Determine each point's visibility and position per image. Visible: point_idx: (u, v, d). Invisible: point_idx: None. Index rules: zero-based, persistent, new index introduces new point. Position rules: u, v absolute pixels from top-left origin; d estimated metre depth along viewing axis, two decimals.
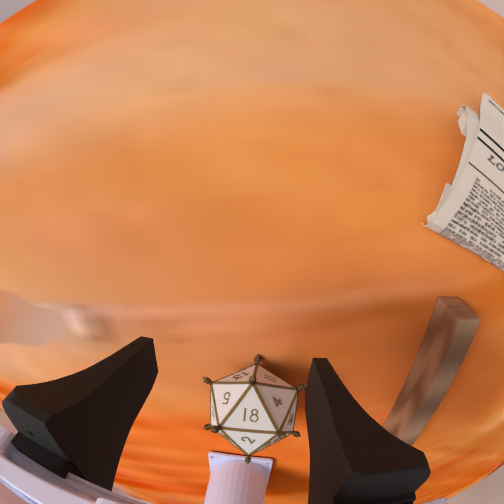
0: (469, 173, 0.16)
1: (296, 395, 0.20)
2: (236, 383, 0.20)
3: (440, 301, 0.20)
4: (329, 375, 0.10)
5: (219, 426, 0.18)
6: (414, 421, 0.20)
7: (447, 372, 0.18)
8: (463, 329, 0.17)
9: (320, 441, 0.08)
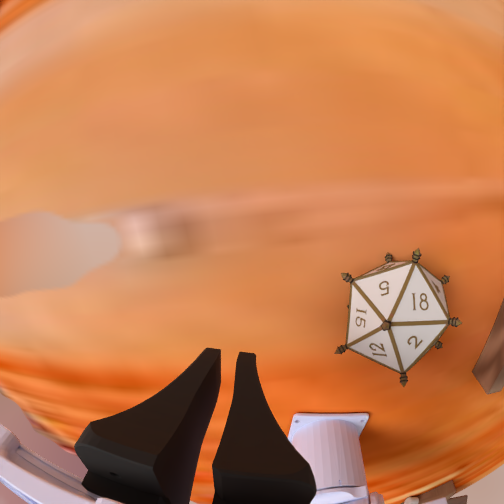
0: None
1: (442, 288, 0.16)
2: (392, 268, 0.16)
3: None
4: (246, 370, 0.10)
5: (389, 322, 0.14)
6: None
7: None
8: None
9: None
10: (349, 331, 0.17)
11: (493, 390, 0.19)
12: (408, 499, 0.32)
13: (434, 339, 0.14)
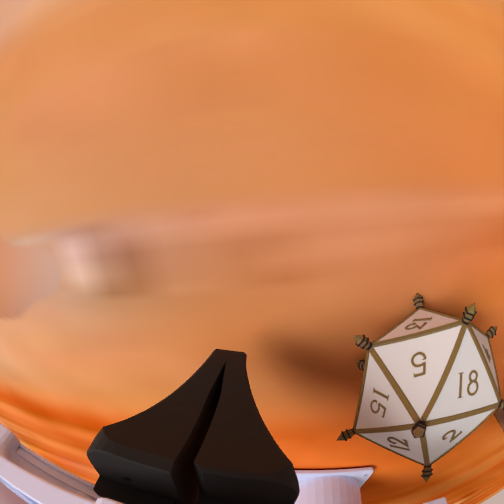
0: None
1: (488, 345, 0.10)
2: (431, 332, 0.09)
3: None
4: (235, 368, 0.10)
5: (423, 423, 0.07)
6: None
7: None
8: None
9: None
10: (360, 414, 0.11)
11: None
12: None
13: (476, 427, 0.07)
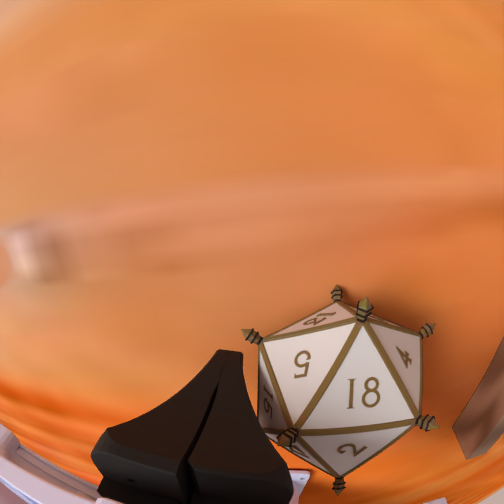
0: None
1: None
2: (321, 328, 0.10)
3: None
4: (232, 368, 0.10)
5: (295, 431, 0.07)
6: None
7: None
8: None
9: None
10: (259, 412, 0.11)
11: (474, 454, 0.13)
12: None
13: (389, 443, 0.07)
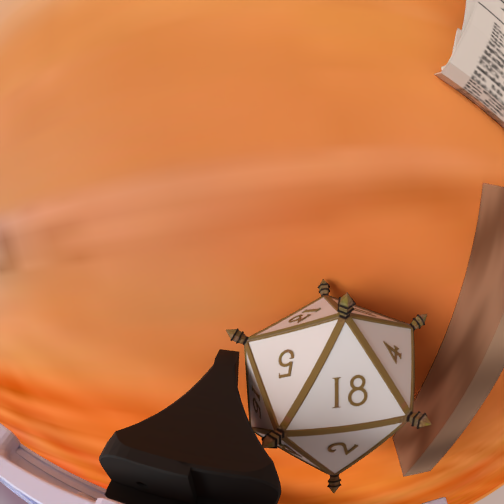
0: (483, 13, 0.06)
1: (413, 338, 0.10)
2: (304, 326, 0.09)
3: (489, 187, 0.11)
4: (224, 367, 0.10)
5: (280, 432, 0.07)
6: (462, 406, 0.11)
7: None
8: None
9: None
10: (250, 411, 0.11)
11: (413, 471, 0.13)
12: None
13: (381, 441, 0.07)
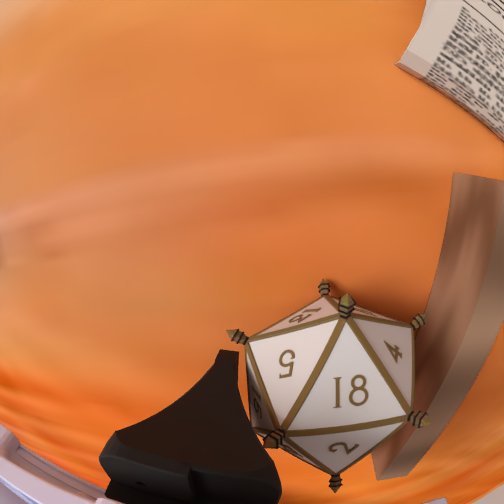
0: None
1: (413, 337, 0.10)
2: (304, 326, 0.09)
3: (459, 176, 0.11)
4: (224, 367, 0.10)
5: (281, 432, 0.07)
6: (433, 411, 0.11)
7: (493, 307, 0.09)
8: None
9: None
10: (251, 412, 0.11)
11: (387, 476, 0.13)
12: None
13: (382, 440, 0.07)
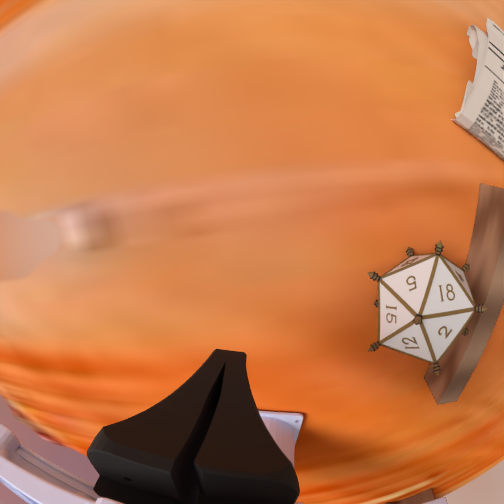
0: (487, 74, 0.13)
1: (464, 276, 0.16)
2: (417, 263, 0.16)
3: (484, 186, 0.17)
4: (235, 368, 0.10)
5: (420, 316, 0.13)
6: (476, 336, 0.17)
7: None
8: None
9: None
10: (380, 328, 0.17)
11: (444, 400, 0.19)
12: None
13: (462, 327, 0.13)
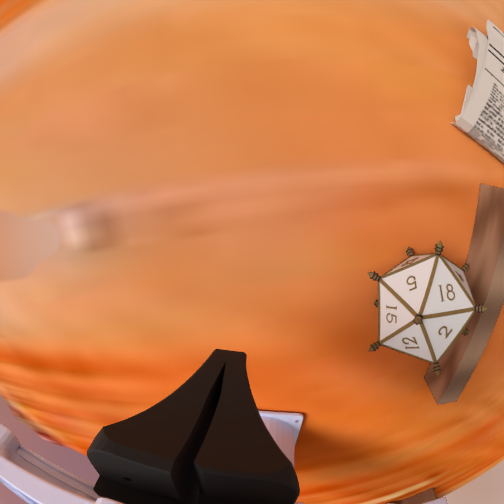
0: (487, 77, 0.13)
1: None
2: (417, 263, 0.16)
3: (484, 186, 0.17)
4: (235, 368, 0.10)
5: (420, 316, 0.13)
6: (476, 336, 0.17)
7: None
8: None
9: None
10: (381, 328, 0.17)
11: (444, 400, 0.19)
12: None
13: (463, 327, 0.13)
